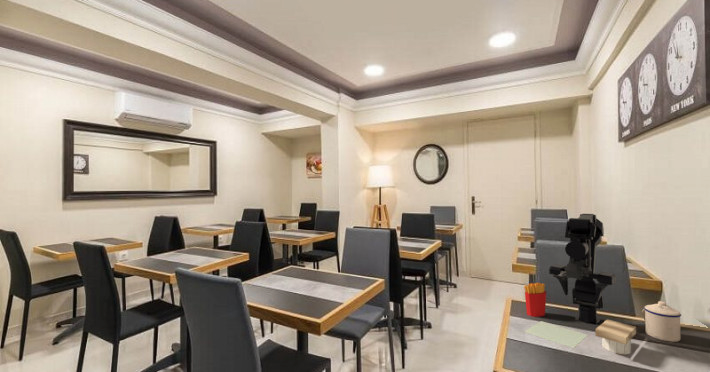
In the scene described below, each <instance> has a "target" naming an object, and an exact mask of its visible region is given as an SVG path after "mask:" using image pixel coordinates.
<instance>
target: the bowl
mask: <svg viewBox="0 0 710 372" xmlns="http://www.w3.org/2000/svg"><path fill="white" fill-rule="evenodd" d="M601 344H602V347H603V349H605V350H607V351H609V352H612V353H615V354H620V355H630V354H632V339H631V340H630V341H629V342H628V343H627V344H626V345H625V344H622V343H618V342H615V341H612V340H608V339H605V338H601Z"/></svg>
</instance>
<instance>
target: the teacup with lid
mask: <svg viewBox="0 0 710 372" xmlns="http://www.w3.org/2000/svg"><path fill="white" fill-rule="evenodd" d="M641 316H642V318H643V320H644V322H645V324H644V325H645V333H646V335H648V336H650V337H651V338H655V339H657V340H660V341H665V342H672V343H676V342H679V341H681V316H682V313H681V312H680V311H679V310H677V309H675V308H673V307H671V306H669V305H667V303H666V302H665V301H661V300H659V301H658V302H657V303H654V304H647V305H644V307H643V308H642V310H641Z"/></svg>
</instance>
